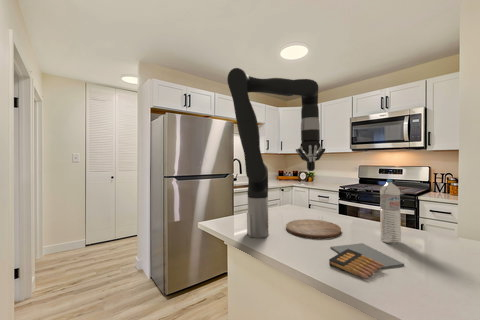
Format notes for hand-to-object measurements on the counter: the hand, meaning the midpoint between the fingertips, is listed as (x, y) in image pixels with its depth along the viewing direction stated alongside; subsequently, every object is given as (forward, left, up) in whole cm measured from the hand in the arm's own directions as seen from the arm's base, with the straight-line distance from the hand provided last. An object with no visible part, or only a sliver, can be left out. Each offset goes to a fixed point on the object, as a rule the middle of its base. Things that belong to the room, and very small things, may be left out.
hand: (310, 170), depth 96 cm
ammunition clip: (-2, -20, -28) cm, 34 cm away
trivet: (+7, +12, -30) cm, 33 cm away
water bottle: (+29, -10, -29) cm, 42 cm away
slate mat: (+9, -19, -29) cm, 36 cm away
